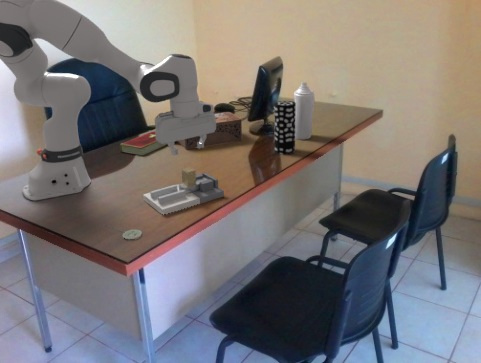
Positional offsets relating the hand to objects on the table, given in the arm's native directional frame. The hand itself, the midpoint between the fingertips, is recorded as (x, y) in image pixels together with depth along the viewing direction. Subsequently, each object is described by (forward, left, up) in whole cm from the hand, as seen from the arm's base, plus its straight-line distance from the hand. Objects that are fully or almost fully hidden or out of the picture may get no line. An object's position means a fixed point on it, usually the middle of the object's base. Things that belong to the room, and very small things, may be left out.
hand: (188, 151), depth 148 cm
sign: (-28, -9, -16) cm, 34 cm away
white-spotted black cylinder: (+52, +13, -16) cm, 56 cm away
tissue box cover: (+36, +46, -16) cm, 61 cm away
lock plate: (-3, -1, -15) cm, 16 cm away
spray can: (+70, +22, -16) cm, 75 cm away
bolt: (+1, -1, -13) cm, 13 cm away
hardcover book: (+11, +56, -16) cm, 60 cm away
